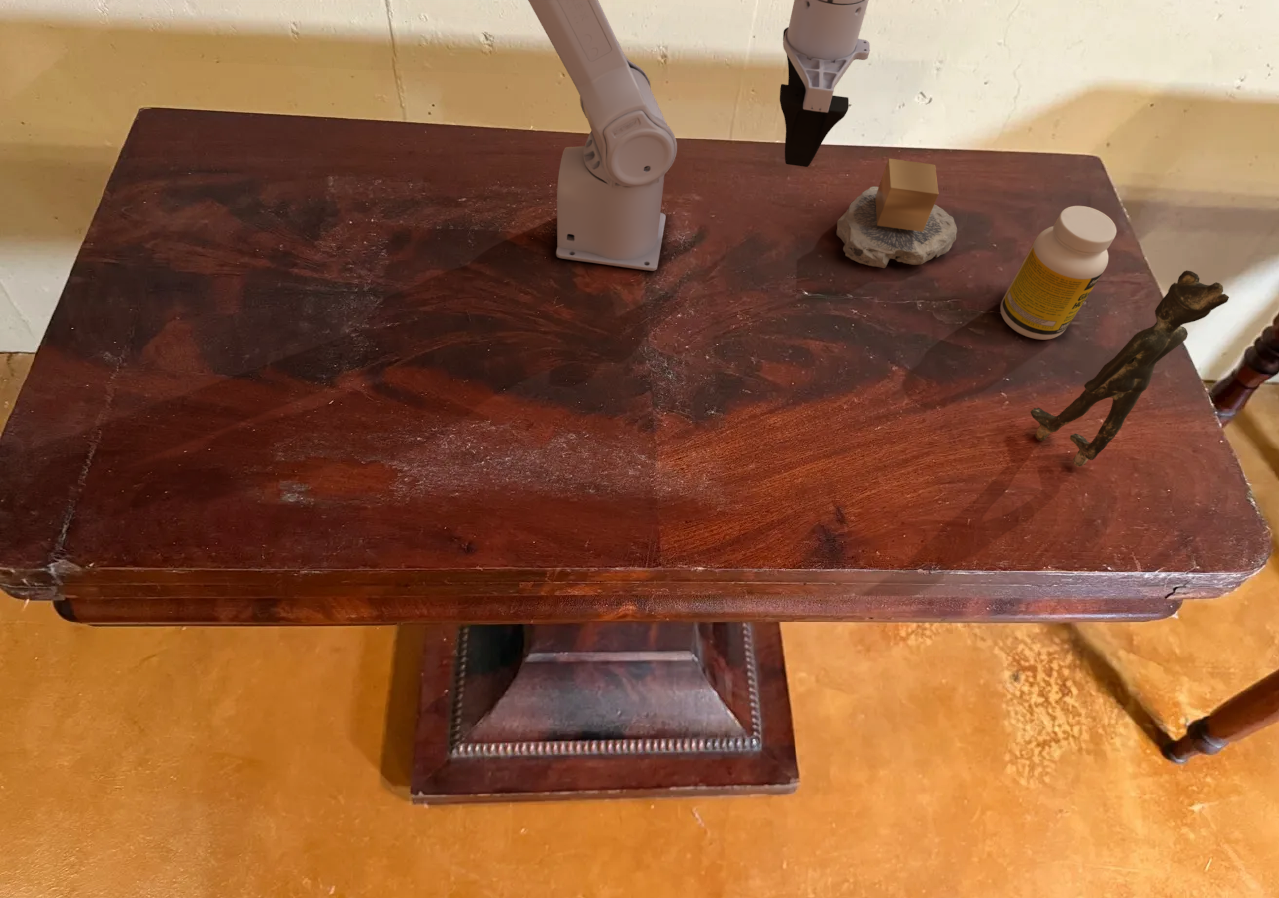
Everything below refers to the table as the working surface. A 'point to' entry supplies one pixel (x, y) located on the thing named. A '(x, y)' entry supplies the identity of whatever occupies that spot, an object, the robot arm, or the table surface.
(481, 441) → the table surface
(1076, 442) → the statue
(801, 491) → the table surface
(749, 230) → the table surface
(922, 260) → the fossil
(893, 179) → the block
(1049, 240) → the pill bottle
